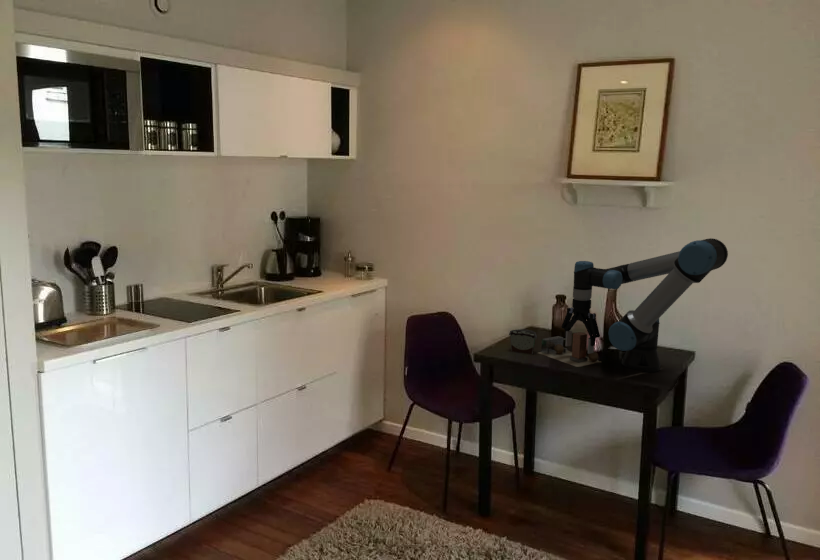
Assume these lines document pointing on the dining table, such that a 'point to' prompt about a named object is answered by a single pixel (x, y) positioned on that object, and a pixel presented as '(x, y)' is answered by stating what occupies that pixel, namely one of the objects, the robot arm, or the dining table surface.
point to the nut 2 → (593, 356)
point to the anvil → (551, 345)
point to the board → (566, 359)
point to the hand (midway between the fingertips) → (579, 349)
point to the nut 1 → (559, 348)
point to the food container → (522, 341)
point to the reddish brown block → (579, 347)
